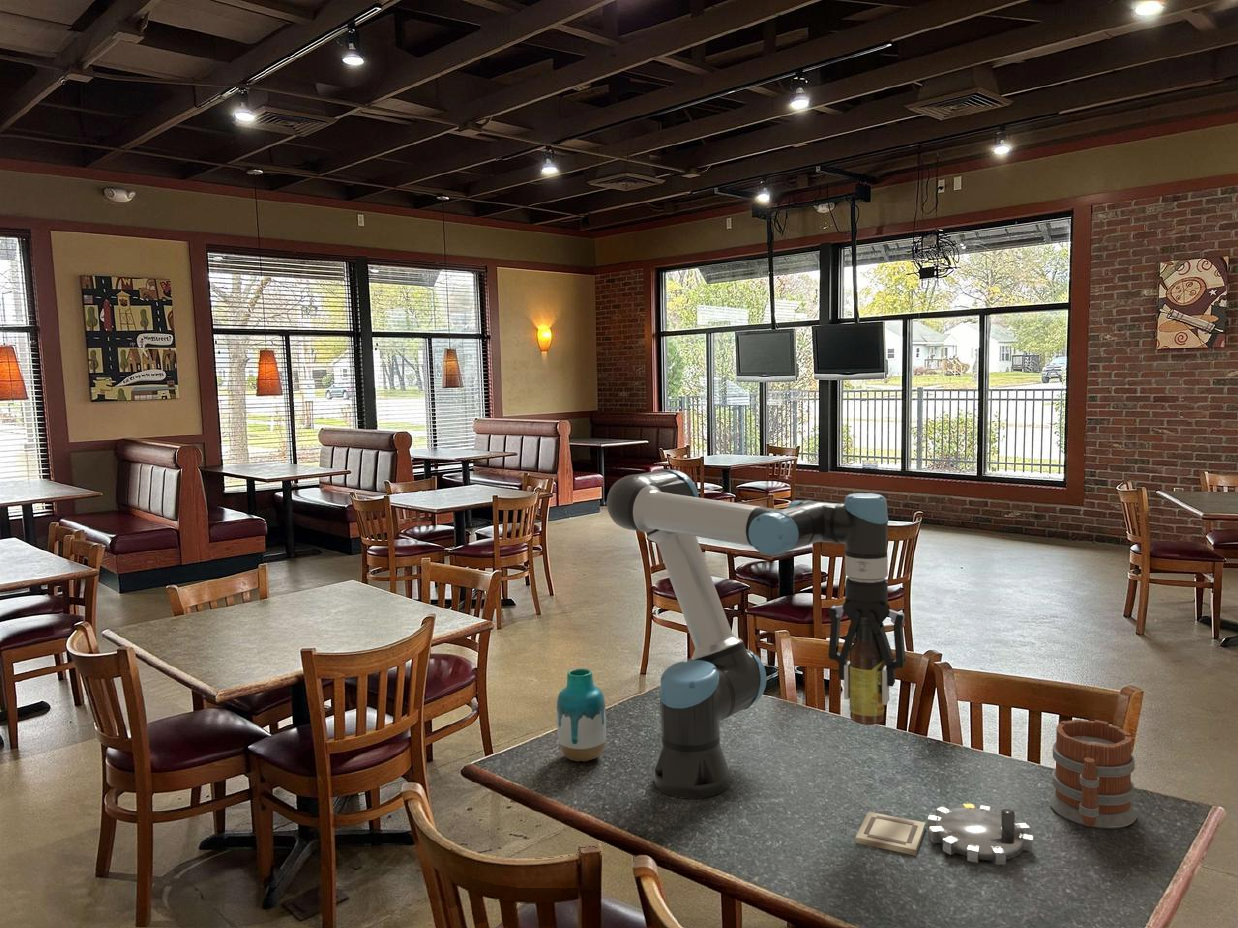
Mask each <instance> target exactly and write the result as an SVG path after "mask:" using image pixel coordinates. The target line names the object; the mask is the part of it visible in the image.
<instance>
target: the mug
mask: <svg viewBox="0 0 1238 928" xmlns="http://www.w3.org/2000/svg"><path fill="white" fill-rule="evenodd" d="M1055 728H1056V730H1055V732H1056V733H1055V737H1056V739H1055V741H1054V743H1053V744H1052V759H1053V761H1055V768H1054V769H1053V771H1052V773H1051V774H1052V780H1051V781H1052V782H1051V783H1052V785H1053V787H1054V791H1053V793H1052V794H1051V796H1050V797H1049V802H1048V803H1049V805H1050V807H1051V809H1053V810H1054V811H1055V812H1056V813H1057V814H1058V815H1059V816H1061V817H1062V818H1063V819H1066V820H1068V821H1069V822H1072V823H1074V824H1077V825H1081V826H1084V827H1089V828H1095V829H1104V830H1105V829H1106V830H1115V829H1122V828H1125V827H1128V826H1130V825H1132V824H1133V823H1134V822H1136V819H1137V816H1138V815H1137V813H1136V811H1135V809H1134V807H1133V806H1132V803H1131V801H1133V799H1134V797H1135V785H1134V782H1133V781H1132V773H1133V772H1134V771H1135V768H1136V767H1135V764H1136V762H1135V761H1136V758H1135V755H1134V754H1133V752H1132V735H1131V733H1130V732H1128V731H1126V730H1124V729H1123V728H1121V727H1120V726H1117V725H1112V724H1110V722H1107V721H1104V720H1103V721H1102V720H1097V719H1094V721H1093V720H1087V719H1086V720H1084V719H1083V720H1082V719H1073V720H1067V721H1066V720H1063V721H1060V722H1059V723H1058V724H1057V726H1056V727H1055Z"/></svg>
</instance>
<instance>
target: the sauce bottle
mask: <svg viewBox="0 0 1238 928" xmlns="http://www.w3.org/2000/svg"><path fill="white" fill-rule="evenodd" d="M858 625H859V626H858V628H857V629H856V636H855V640H854V641H853V644H852V647H851V649H850V653H849V661H850V664H849V694H850V698H849V711H850V714H849V716H850V717H849V718H850V719H851V721H853V722H854V723H856V724H859V725H870V726H874V725H879V724H880V723H882V722H883V720H884V716H885V715H884V713H885V705H883V704H882V670H883V668H884V667H885V662H884V659H883V656H882V653H881V650H880V647H879V644H878V641H877V638H876V635H875V634H874V631H873V629H871V622H870V620H869V618H866V617H860V619H859V622H858Z"/></svg>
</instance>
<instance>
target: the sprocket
mask: <svg viewBox="0 0 1238 928" xmlns="http://www.w3.org/2000/svg"><path fill="white" fill-rule="evenodd" d="M935 811H936V815H932V814H929V815H928V818H927V830H928V831H929V834H928V835H929V840H930V841H931V842H932V843H941V845H942V851H943V852H944V853H947V854H948V855H950V856H951V855H954V854H955V853H957V854H960V855H962V856H964V857H965V856H966V860H967V862H972V863H976V864H978V863H979V860H983V861H984V860H985V861H992V862H993V863H994V864H995V865H996V866H997V865H1006V864H1007V862H1006V861H1007V860H1009V859H1013V858H1015V857H1017V856H1019V855H1020V854H1021V853H1023V851H1026V852H1027V851H1028V852H1033V848H1034V835H1032V834H1030V828H1031V827H1030V826H1029V825H1028V824H1027V823H1026V822H1017V821H1015V820H1016V819H1015V818H1016V817H1015V816H1016V813H1015V811H1014V810H1012V809H1010V808H1004V809H1001V810H1000V811H1001V812H997V811H993V810H991V806H987V805H980V807H979V808H977V807H975V805H974V804H973V803H963V806H962V807H955V808H949V809H948V808H946V807H944V806H940V807H937V808H936V810H935Z"/></svg>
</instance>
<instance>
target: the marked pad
mask: <svg viewBox="0 0 1238 928" xmlns="http://www.w3.org/2000/svg"><path fill="white" fill-rule="evenodd" d="M925 831H926V822H925V821H919V820H913V819H908V818H903V817H899V816H893V815H887V814H883V813H878V812H873V811H867V813H866V816H865V817H864V819H863V821H862V823H861V825H860V826H859V829H858V831H857V834H856V835H855V841H854V842H855V843H856V844H860V845H865V846H868V847H869V846H870V847H874V848H878V849H884V850H889V851H893V852H899V853H900V854H901V853H902V854H907V855H913V856H917V853H918V850H919V847H920V844H921V842H922V838H923V836H924V833H925Z"/></svg>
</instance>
